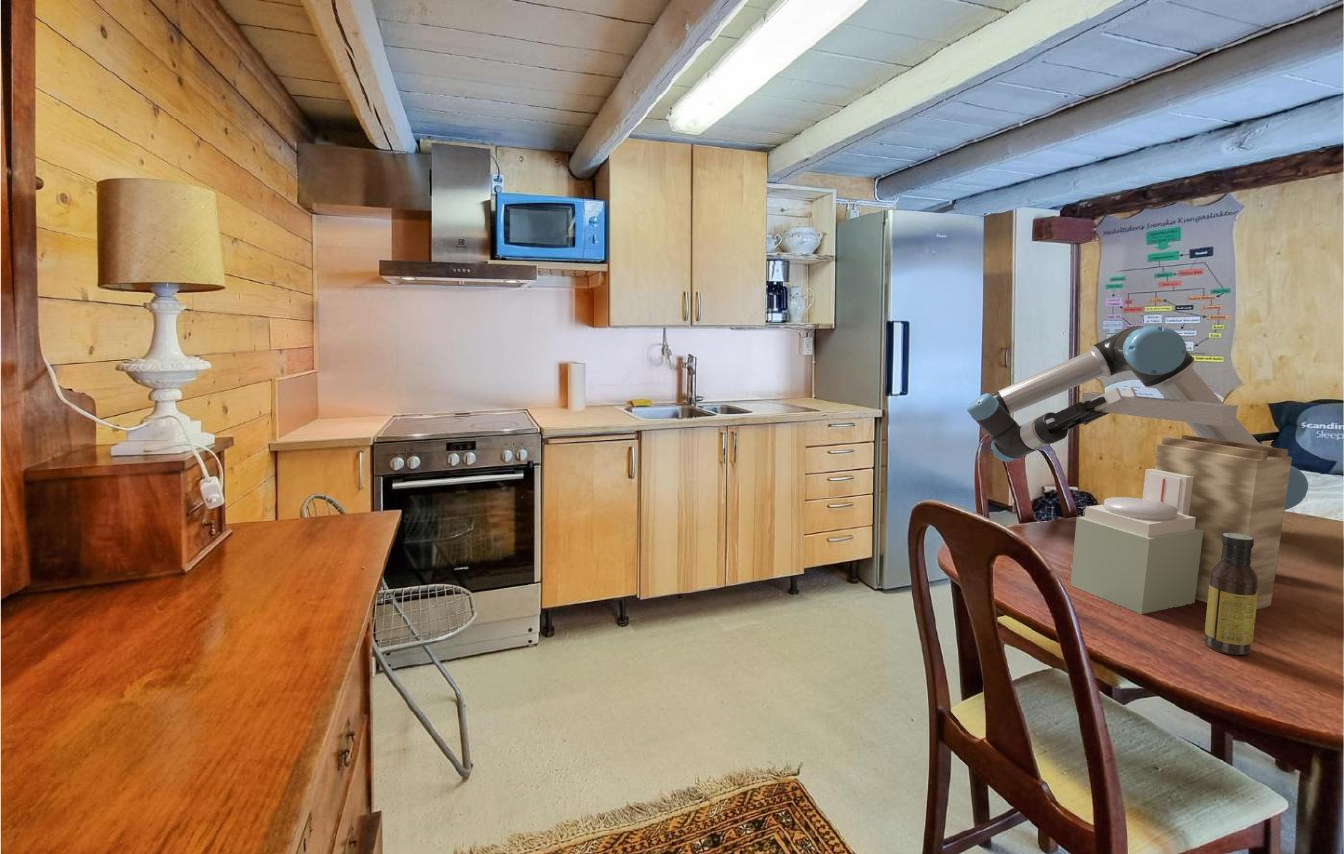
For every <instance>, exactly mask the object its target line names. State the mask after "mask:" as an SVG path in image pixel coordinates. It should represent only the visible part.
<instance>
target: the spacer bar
mask: <svg viewBox="0 0 1344 854" xmlns="http://www.w3.org/2000/svg"><path fill="white" fill-rule="evenodd" d="M1104 393H1105V392H1097V391H1096V392H1095V391H1091V392H1082V393H1081V394H1082V397H1081V402H1082V403H1084V402H1085V401H1090V402H1091V400H1092V399H1094V398H1096V397H1098V396H1100V395H1102V394H1104ZM1122 398H1123V399H1121V400H1119V401H1117V402H1115V403H1113V404H1110V405H1108V406H1106V407H1104V408H1102V409H1099V410H1095V408H1093V409H1094V411H1098V412H1107V413H1109V414H1115V415H1124V416H1131V417H1133V416H1134V417H1140V418H1150V419H1156V420H1157V419H1158V420H1167V421H1173V422H1184V423H1186V422H1190V423H1198V424H1206V425H1214V426H1233V425H1235V424H1236V418H1237V416H1238V407H1239V405H1238V404H1237V405H1236V404H1226V403H1224V404H1217V403H1207V402H1196V401H1185V400H1174V399H1165V398H1164V397H1163V398H1162V397H1161V398H1160V397H1150V396H1141V395H1140V396H1138V395H1137V396H1130V395H1122Z"/></svg>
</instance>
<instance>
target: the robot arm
mask: <svg viewBox="0 0 1344 854" xmlns="http://www.w3.org/2000/svg"><path fill="white" fill-rule="evenodd" d="M1194 363H1195V358H1194V357H1193V356H1192V355H1191V354H1190V353H1189V351H1188V350H1187V345H1186V342H1185V340H1184V339H1183V337H1182V335H1181V334H1179V333H1178V332H1177V331H1175V330H1174V329H1171V328H1169V327H1166V326H1163V325H1155V324H1153V325H1145V326H1144V325H1137V326H1131V327H1128V328H1125V329H1123V330H1121V331H1119V332H1116V333H1115V334H1113V335H1111V336H1108V337H1107V338H1105V339H1104V340H1101V341H1100V342H1097V343H1095V344H1093V345H1091V346H1090V348H1089V350H1088V351H1086V352H1084V353H1081V354H1080V355H1077V356H1075V357H1073V358H1070V359H1068V360H1065V361H1063V362H1060V363H1058V364H1056V365H1054V366H1052V367H1050V368H1047V369H1045V370H1043V371H1040V372H1038V373H1036V374H1033V375H1031V376H1029V377H1026V378H1024V379H1022V380H1020V381H1018V382H1015V383H1012V384H1010V385H1008V386H1006V387H1004V388H1002V389H999V390H997V391H995V392H992V393H984V394H982V395H980V396H979V397H976V399H974V400H973V401H972V402H971V403H969V405H968V406H967V408H966V410H967V413H968V414H969V415H970V416H971V418H972V419H973V420H974V421H975V422H976V423H977V424H978V425H979V426H980V427H981V428H982V429H983V430H984V431H985V433H986V434H987V435H988V436H989V437H990V438H991V439H992V441H991V445H990V449H991V450H992V452H993V453H992V454H993V456H994V457H995V458H997V459H998V460H999V461H1001V462H1004V463H1005V462H1007V463H1008V462H1012V461H1014V460H1019V459H1021V458H1023V457H1025V456H1028V455H1029V454H1032V453H1034V452H1035V451H1044V447H1047V446H1049V445H1052V444H1055V443H1057V442H1060V441H1062V440H1064V439H1065V438H1066V437H1068V435H1069V434H1068V433H1069V430H1072V429H1075V428H1077V427H1078V426H1080V425H1082V424H1083V425H1084V426H1087V425H1088V424H1090V423H1092V422H1093V421H1095V420H1098V419H1100V418H1102V417H1105V416H1107V415H1109V414H1110V413H1107V412H1098V411H1094V409H1093V408H1095V410H1099V409H1102V408H1104V407H1106V406H1108V405H1110V404H1113V403H1115V402H1117V401H1119V400H1121V399H1123V398H1122V395H1130V396H1138V395H1137V394H1136V393H1137V392H1136V391H1135V389H1134V387H1133V386H1131V387H1129V388H1126V389H1124V390H1122V391H1120V389H1119V387H1115V388H1113V389H1111V390H1109V391H1107V392H1103V393H1104V394H1102V395H1100V396H1098V397H1096V398H1094V399H1092V400H1091V402H1090V401H1085V402H1084V403H1082V401H1079V402H1076V403H1075V404H1072V405H1070V406H1068V407H1065V408H1064V409H1061V410H1060V411H1057V412H1052V411H1051V412H1047V413H1044V414H1042V415H1041V416H1038V417H1036V418H1033V419H1031V420H1029V421H1028V422H1026V423H1023V424H1022V425H1019V424H1018V422H1017V421H1016V420H1015V419H1014V418H1013V417H1012V416H1011V414H1014V413H1016V412H1018V411H1021V410H1023V409H1025V408H1027V407H1030V406H1032V405H1035V404H1037V403H1040V402H1042V401H1044V400H1047V399H1050V398H1052V397H1053V396H1056V395H1059V394H1061V393H1064V392H1066V391H1068V390H1071V389H1074V388H1075V387H1078V386H1080V385H1083V384H1086V383H1088V382H1090V381H1093V380H1094V379H1097V378H1099V377H1102V376H1104V377H1107V378H1108V377H1112V376H1114V375H1118V374H1120V373H1123V372H1127V371H1128V372H1130V371H1131V372H1132V373H1133V374H1134V376H1136V378H1137V379H1139V381H1140V382H1141V383H1142V384H1143V385H1144V387H1145V388H1146V389H1147V388H1149V389H1156V390H1157V391H1158V393H1160V394H1161V396H1162V397H1163V399H1174V400H1185V401H1196V402H1207V403H1217V404H1225V403H1224V402H1223V401H1222V399H1220V398H1219V397H1218V395H1217V394H1216V393H1215V392H1214V391H1213V390H1212V389H1211V387H1210V386H1209V385H1208V384H1207V383H1206V382H1205V380H1204V379H1203V378H1202V377H1201V376H1200V375H1199V374H1198V373H1197V371H1196V370H1195V369H1194V365H1195V364H1194ZM1185 423H1186V424H1187V425H1188V426H1189V427H1190V429H1191V430H1192V431H1193V432H1194V433H1195V435H1196V436H1197V437H1202V438H1209V439H1216V440H1223V441H1230V442H1237V443H1244V444H1251V445H1258V446H1265V447H1273V446H1272V445H1270V444H1263V443H1260V442H1258V440H1256V438H1255V437H1254V436H1253V435H1252V434H1251V433H1250V431H1249V430H1248V429H1247V428H1246V427H1245V426H1244V425H1243V424H1242V422H1241V421H1240V420H1239V419H1238V418H1237V417H1236V424H1235V425H1233V426H1214V425H1206V424H1198V423H1190V422H1185ZM1308 490H1309V481H1308V479H1307V476H1306V475H1305V473H1304V472H1302V471H1301V470H1300V469H1299V468H1297V467H1295V466H1294V465H1291V467H1290V474H1289V481H1288V488H1287V495H1286V502H1285V509H1284V511H1286V510H1287V511H1288V510H1290V509H1292V508H1294V507H1295V506H1297V505H1299V504H1301V503H1302V501H1304V499H1305V498H1306V496H1307V493H1308Z"/></svg>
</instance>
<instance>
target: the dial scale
mask: <svg viewBox="0 0 1344 854" xmlns="http://www.w3.org/2000/svg"><path fill="white" fill-rule="evenodd" d="M1192 485H1193V477H1192V476H1187V475H1182V474H1177V473H1172V472H1167V471H1162V470H1156V469H1155V468H1147V469H1145V471H1144V481H1143V491H1142V492H1143V493H1142V498H1139V497H1128V496H1125V497H1123V496H1117V497H1116V496H1115V497H1113V496H1112V497H1108V498H1105V499H1104V501H1103V504H1096V505H1089V506H1085V512H1084V517H1085V519H1088V520H1092V521H1095V522H1099V523H1102V524H1105V525H1109V526H1112V527H1116V528H1119V529H1122V530H1126V531H1129V532H1133V533H1136V534H1139V535H1143V536H1146V537H1151V536H1158V535H1164V534H1170V533H1177V532H1183V531H1190V530H1194V529H1195V521H1196V517H1192V516H1189V510H1190V502H1191V493H1192Z"/></svg>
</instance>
